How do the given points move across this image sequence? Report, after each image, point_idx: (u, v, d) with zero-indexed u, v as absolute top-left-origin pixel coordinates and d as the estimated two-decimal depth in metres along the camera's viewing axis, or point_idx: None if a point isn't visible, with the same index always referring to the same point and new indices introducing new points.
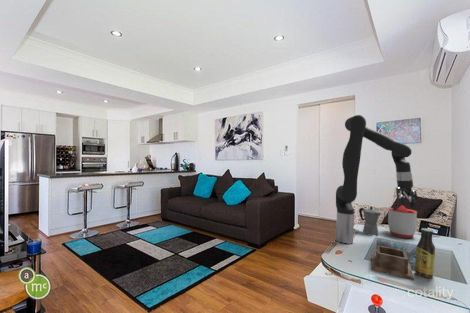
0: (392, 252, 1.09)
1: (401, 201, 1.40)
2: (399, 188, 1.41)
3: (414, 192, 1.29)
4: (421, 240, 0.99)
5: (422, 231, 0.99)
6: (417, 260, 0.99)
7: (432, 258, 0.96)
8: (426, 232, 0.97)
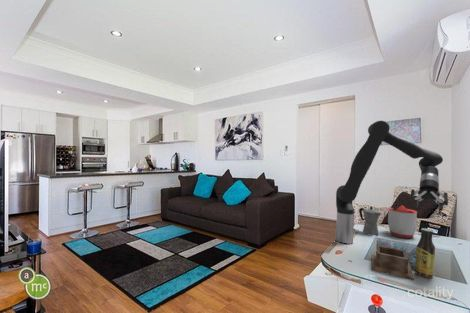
0: (392, 252, 1.09)
1: (417, 203, 1.14)
2: (416, 191, 1.18)
3: None
4: (421, 240, 0.99)
5: (422, 231, 0.99)
6: (417, 259, 0.99)
7: (432, 258, 0.96)
8: (426, 232, 0.97)
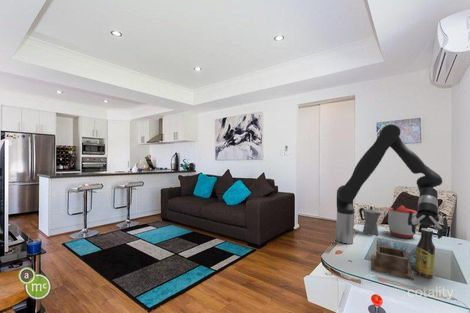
0: (392, 252, 1.09)
1: None
2: (414, 214, 1.12)
3: (446, 221, 1.04)
4: (421, 240, 0.99)
5: (422, 231, 0.99)
6: (417, 259, 0.99)
7: (432, 258, 0.96)
8: (426, 232, 0.97)
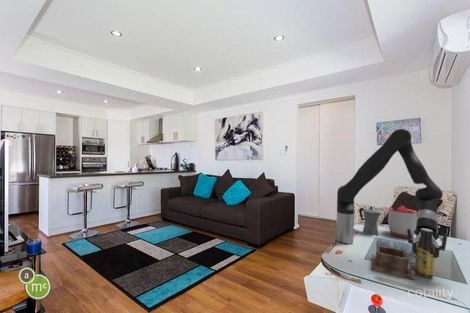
0: (392, 252, 1.09)
1: None
2: None
3: (446, 240, 0.98)
4: (421, 240, 0.99)
5: (422, 231, 0.99)
6: (416, 259, 0.99)
7: (432, 258, 0.96)
8: (426, 232, 0.97)
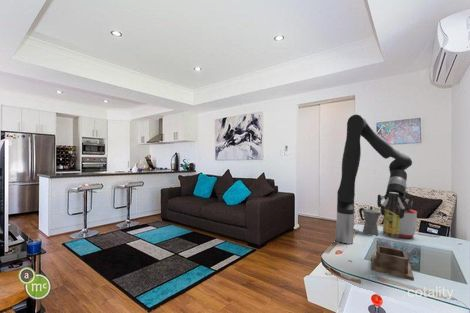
0: (392, 252, 1.09)
1: None
2: (382, 196, 1.13)
3: (412, 202, 1.05)
4: (388, 202, 1.05)
5: (389, 194, 1.05)
6: (384, 221, 1.06)
7: (397, 218, 1.02)
8: (392, 194, 1.04)
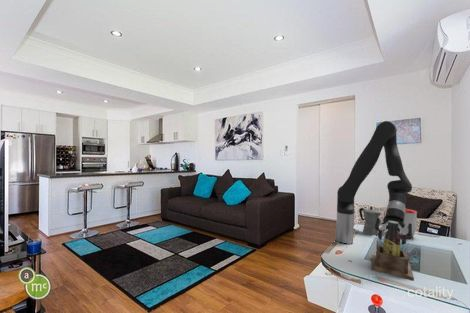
0: None
1: (381, 234, 1.08)
2: (382, 220, 1.13)
3: (411, 227, 1.05)
4: (388, 231, 1.05)
5: (389, 223, 1.05)
6: (384, 250, 1.06)
7: (397, 248, 1.02)
8: (392, 224, 1.04)
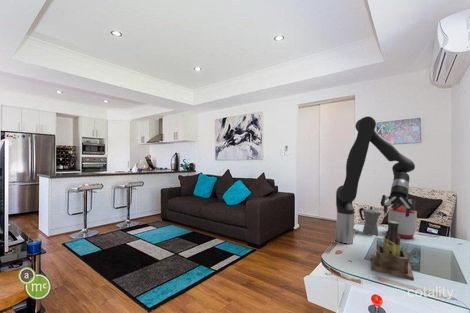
0: None
1: (386, 208, 1.18)
2: (387, 196, 1.22)
3: (414, 201, 1.14)
4: (388, 232, 1.05)
5: (389, 223, 1.05)
6: (384, 250, 1.06)
7: (397, 248, 1.02)
8: (392, 224, 1.04)
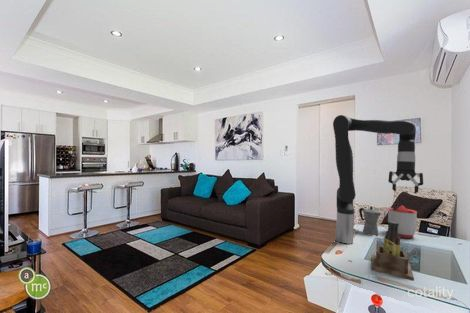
0: None
1: (395, 187, 1.20)
2: (394, 172, 1.20)
3: (422, 175, 1.13)
4: (388, 232, 1.05)
5: (389, 223, 1.05)
6: (384, 250, 1.06)
7: (397, 248, 1.02)
8: (392, 224, 1.04)
